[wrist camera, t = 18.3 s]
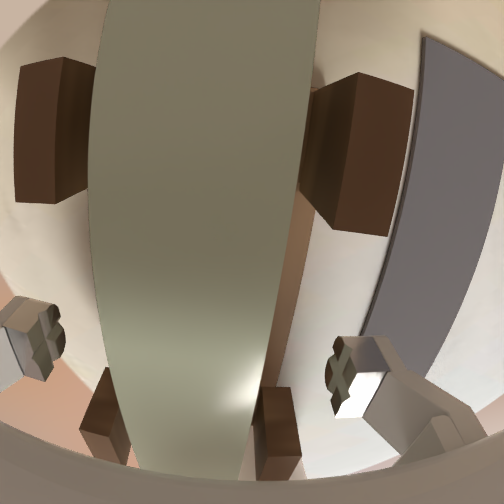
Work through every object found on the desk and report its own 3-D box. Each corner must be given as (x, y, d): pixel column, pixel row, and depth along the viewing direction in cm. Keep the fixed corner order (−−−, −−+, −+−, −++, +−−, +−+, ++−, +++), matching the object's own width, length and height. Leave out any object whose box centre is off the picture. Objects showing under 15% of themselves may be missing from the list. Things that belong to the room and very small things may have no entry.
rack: (328, 93, 10) (416, 67, 4) (271, 389, 16) (282, 490, 10) (124, 76, 10) (24, 44, 4) (132, 374, 15) (101, 469, 9)
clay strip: (164, 39, 7) (113, -14, 3) (286, 48, 7) (321, -6, 4) (162, 425, 13) (150, 492, 9) (232, 433, 13) (232, 502, 10)
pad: (507, 85, 10) (511, 85, 9) (411, 392, 17) (413, 395, 17) (422, 38, 9) (425, 36, 9) (333, 400, 17) (334, 403, 17)
